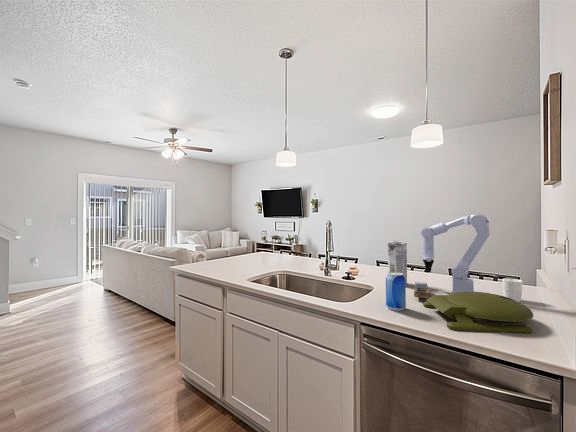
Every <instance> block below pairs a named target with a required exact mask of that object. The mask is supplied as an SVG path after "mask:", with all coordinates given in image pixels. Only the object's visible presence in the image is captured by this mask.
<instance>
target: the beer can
mask: <svg viewBox="0 0 576 432" xmlns="http://www.w3.org/2000/svg"><path fill="white" fill-rule="evenodd" d="M406 284H407V283H406V280H405V277H404V276H403V273H399V272H389V273H388V272H387V275H386V277H385V306H386V307H387V309H389V310H390V311H395V312H402V311H404V310H405V309H406V306H407V301H406V300H407V298H406V297H407V295H406V294H407V293H406V292H407V291H406V286H407V285H406Z"/></svg>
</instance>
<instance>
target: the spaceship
mask: <svg viewBox="0 0 576 432" xmlns="http://www.w3.org/2000/svg"><path fill="white" fill-rule="evenodd" d="M422 306H424V307H425V308H430V309H437V310H438V311H440V313H441V314H443V315H444V316H446V317H447V318H449V319H450V320H456V321H449V322H447V323H446V327H447V328H448V329H450V330H453V331H458V332H459V331H461V332H463V331H465V332H484V333H485V332H486V333H489V332H490V333H507V334H509V333H511V334H512V333H513V334H532V333H534V328H533V327H532V326H530V325H528V324H519V323H516V324H515V323H491V322H490V323H487V322H474V321H473V319H475V318H477V319H484V320H490V321H498V322H499V321H500V322H525V321H530V320H531V319H533V318H534V313H533V311H532V309H531V308H529V307H528V306H527V305H525V304H524V303H521V302H516V301H515V300H513V299H510V298H507V297H504V295H499V294H496V293H490V292H483V291H474V292H457V293H449V294H433V295H432V296H429V298H426V301H424V302H423V303H422Z"/></svg>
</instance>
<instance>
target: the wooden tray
mask: <svg viewBox="0 0 576 432" xmlns="http://www.w3.org/2000/svg"><path fill="white" fill-rule="evenodd" d="M416 282H417V281H415V282H414V291H413V295H414V297H415V298H421V299H428V298H430V292H429V289H428V288H429V287H428V286H427V289H424V291H422V290H418V288H416Z"/></svg>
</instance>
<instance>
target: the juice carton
mask: <svg viewBox="0 0 576 432" xmlns="http://www.w3.org/2000/svg"><path fill="white" fill-rule="evenodd" d="M407 244H408V243H407V242H403V241H402V242H401V241H398V240H392V241H391V242H387V264H388V266H387V268H388V269H387V270H388V272H387V274H388V273H389V272H399V273H403V276H404V277H405V280H406V284H407V283H408V264H407V263H408V258H407V257H408V254H407V253H408V249H407V248H408V247H407Z"/></svg>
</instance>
